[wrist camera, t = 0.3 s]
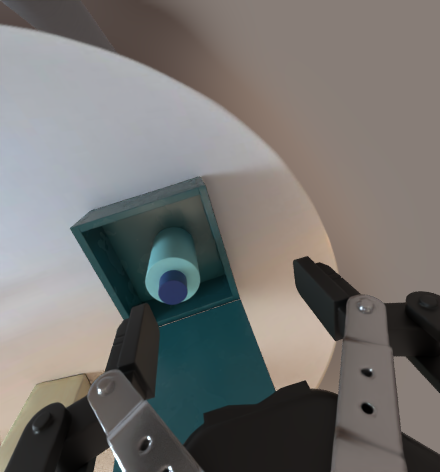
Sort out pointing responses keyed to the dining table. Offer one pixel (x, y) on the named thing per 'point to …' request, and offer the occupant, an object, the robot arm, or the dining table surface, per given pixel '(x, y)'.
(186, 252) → the water bottle
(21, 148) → the dining table surface
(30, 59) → the dining table surface
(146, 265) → the teal open box
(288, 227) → the dining table surface
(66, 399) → the toy refrigerator
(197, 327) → the teal box lid
